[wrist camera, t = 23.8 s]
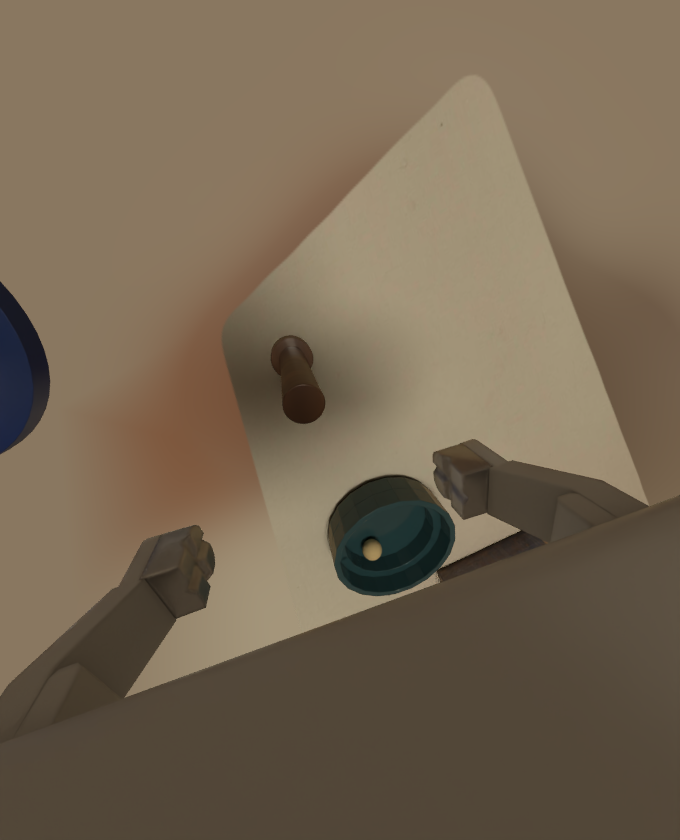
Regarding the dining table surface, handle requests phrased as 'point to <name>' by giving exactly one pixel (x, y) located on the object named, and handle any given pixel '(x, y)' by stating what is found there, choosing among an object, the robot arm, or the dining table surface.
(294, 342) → the stirrer
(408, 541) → the bowl
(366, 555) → the dough ball
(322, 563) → the dining table surface
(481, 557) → the book
